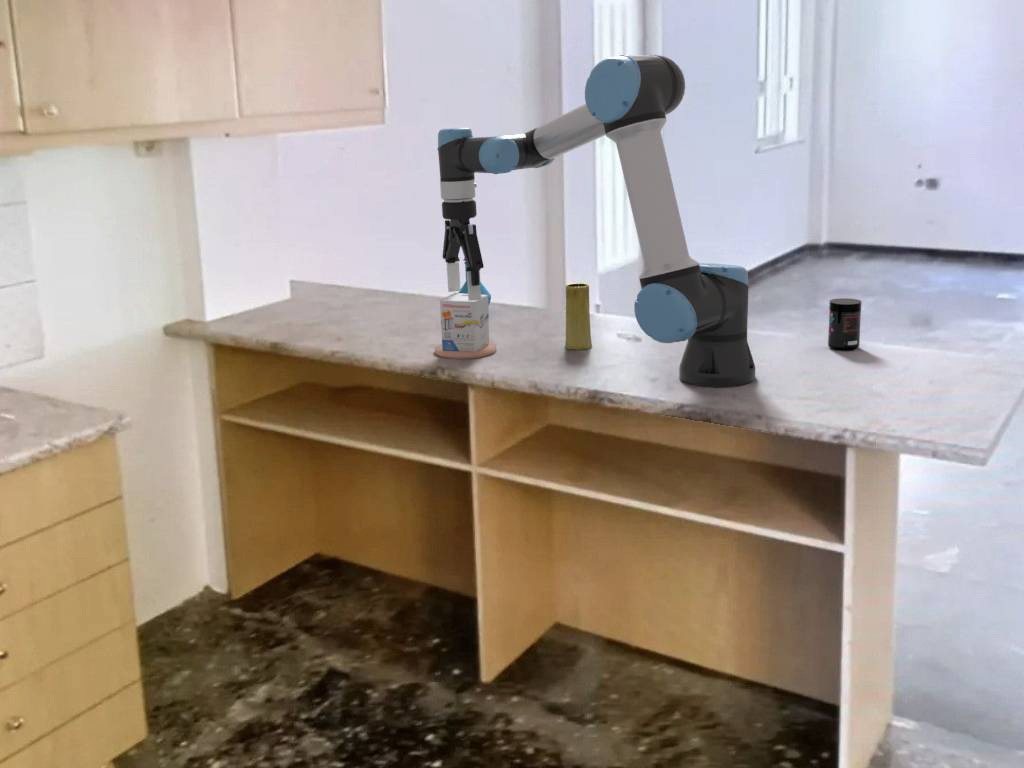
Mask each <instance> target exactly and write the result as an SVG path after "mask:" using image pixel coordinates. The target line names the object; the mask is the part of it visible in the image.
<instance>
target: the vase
mask: <svg viewBox="0 0 1024 768" xmlns="http://www.w3.org/2000/svg"><path fill="white" fill-rule="evenodd" d="M591 334H592V333H591V316H590V285H589V284H588V283H584V282H574V283H573V282H572V283H567V284H566V285H565V345H564V347H565V349H567V350H573V351H574V350H575V351H582V350H588V349H591V348H592V347H593V343H592V335H591Z"/></svg>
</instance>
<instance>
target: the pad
mask: <svg viewBox="0 0 1024 768" xmlns="http://www.w3.org/2000/svg"><path fill="white" fill-rule="evenodd" d="M497 351H498V350H497V345H496V343H494V342H491V341H489V344H488V345H486V346H485V347H483V348H482V349H480V350H478V351H477V352H467V351H446V350H442V343H440V344H438V345H436V346H435V347H434V354H435V355H436V356H437V357H440V358H444V359H451V360H452V359H454V360H468V359H479V358H483V357H488V356H491V355H493V354H495V353H497Z"/></svg>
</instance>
